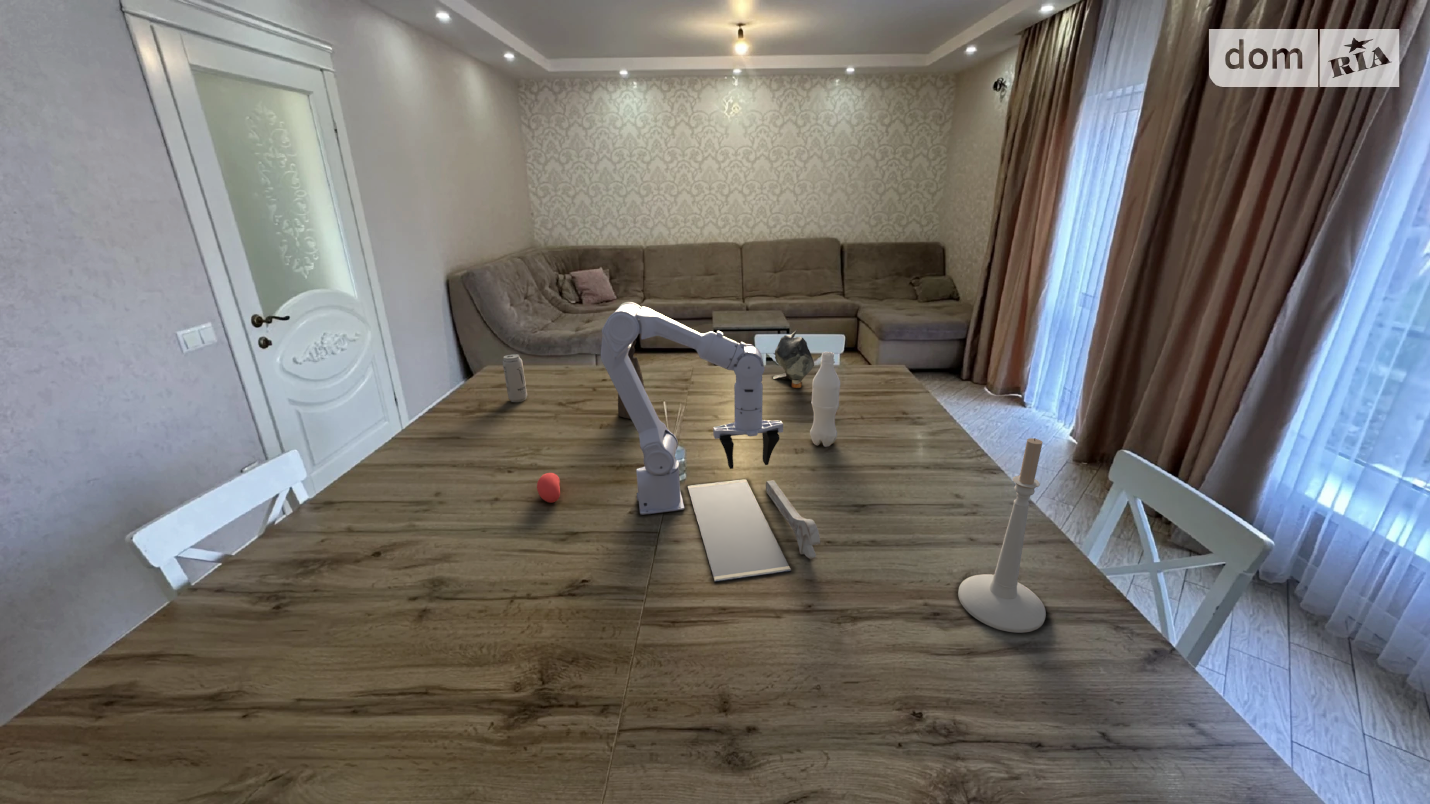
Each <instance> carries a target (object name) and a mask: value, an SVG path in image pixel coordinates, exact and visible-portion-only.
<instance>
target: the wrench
mask: <svg viewBox="0 0 1430 804" xmlns="http://www.w3.org/2000/svg"><path fill="white" fill-rule="evenodd" d="M765 492H766V494H767V495H768V496H769V498H770V499H771V500H772V502H773V503H774V505H775V506H776V507H777V509H778V511H779V512H780V514H781V515H782V516H783V518H784V519H785V521H786V522H787V524H788V525H789V526H790V528H791V530H792V531H793V534H794V536H795V539H796V542H797V545H798V550H799V554H800V555H805V557H807V558H808V559H810V560H814V559H816V557H817V554H816V551H815V548H814V546H817V545H821V536H820V531H819V529H818V526H817V524H816V523H815V520H813V518H805V517H803V516H801V515H800V513H799V512H798V511H797V510H796V507H794V506H793V504H792V503H791V501H790V500H789V498H788V497H787V496H786V495H785V493H784V491H782V489H781V488H780V486H779V485H778V484H777V482H776V481H775V480H774V479H773V480H766V481H765Z"/></svg>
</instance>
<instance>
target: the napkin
mask: <svg viewBox="0 0 1430 804" xmlns="http://www.w3.org/2000/svg"><path fill="white" fill-rule="evenodd" d="M687 490H688V495H689V497H690V500H691V504H692V507H693V510H694V514H695V518H696V521H697V525H698V528H699V533H700V536H701V538H702V543H703V545H704V549H705V552H706V553H705V554H706V556H707V560H708V562H709V566H710V570H711V573H712V578H713V581H714V583H717V582H726V581H732V580H739V579H747V578H753V577H762V576H769V575H774V574H781V573H789V572H792V568H791V567H790V566H789V563H788V562H787V558H786V557H785V555H784V552H783V551H782V549H781V547H780V545H779V543H778V540H777V539H776V537H775V535H774V533H773V530H772V528H771V527H770V525H769V522H768V520H767V518H766V517H765V515H764V512H763V511H762V508H761V507H760V505H759V503H758V501H757V498H756V496H755V495H754V493H753V491H752V489H751V486H750V485H749V482H748V481H747V478H745V479H735V480H727V481H717V482H709V483H700V484H699V483H698V484H691V485H687Z"/></svg>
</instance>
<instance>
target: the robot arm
mask: <svg viewBox="0 0 1430 804" xmlns="http://www.w3.org/2000/svg"><path fill="white" fill-rule="evenodd" d="M639 334H640V335H641V337H640V339H641V340H646V339H649V338H654V337H661V338H663V339H666V340H668V341H669V340H670V341H672V342H675V343H676V344H680V345H683V346H685V347H688V348H690V349H694V350H695V351H696V353H697V355H698V357H699V358H700V359H701V360H704V361H706V362H709V363H711V364H713V365H714V366H715V365H716V366H718V367H720V368H723V369H725V370H727V371H733V372H734V375H735V382H734V387H733V388H734V389H733V393H734V396H733V397H734V399H733V401H734V403H733V405H734V406H733V407H734V422H730V423H726V424H722V425H718V426H713V427H712V435H713V438H714V439H715V440H718V439H719V441H720V443H721V446H722V448H723V450H724V453H725V456H726V461H727V466H728V468H729V469H730V470H733V469H734V445H735V443H734V442H733V437H734V436H735V437H736V436H744V435H746V436H747V437H757V436H758V435H759V434H762V462H763V464H764V465H765V466H768V465H769V464H770V459H771V456H772V454H773V451H774V449H775V447H776V446H777V444H778V443H779V441H780V435H779V434H780V433H784V423H783V422H782V420H765V419H764V420H763V403H764V402H763V398H764V397H763V396H764V395H763V394H764V393H763V392H764V391H763V390H764V386H763V383H762V382H763V375H764V372H765V366H764V360H763V355H762V353H761V351H760V349H758V347H756V346H754V344H751V343H745V342H743V341H740V343H739V342H738V341H736V340H733V339H731V338H728V337H727V336H724V332H722V331H720V330H716V332H714V331H708V332H705V333H701V332H699V331H697V330H695V329H692V328H691V327H688V326H686V325H685V324H683V323H680V322H679V321H677V320H674V319H672V318H670V317H668V316H665V315H664V314H663V313H660V312H658V311H655V310H654V309H652V308H650V307H647V306H640V305H639V304H638V303H636V302H633V301H626V302H623V303H621V304H620V305H618V307H617V308H616V309H615V310H614V312H613V313H611V314H610V315H609V316H608V318H606V321H605V323H604V325H603V326H602V329H601V335H602V337H601V346H600V347H601V348H600V349H601V350H600V360H601V362H602V364H603V367H604V368H605V370H606V372H607V374H608V376H609V378H610V380H611V382H612V383H613V386H614V388H615V391H616V392H617V395H618V394H619V396H620V398H621V400H622V402H623V404H624V406H625V408H626V410H627V412H628V414H629V416H630V418H631V419H630V420H631V421H632V424H633V425H634V427H635V430H636V431H637V433H638V438H639V447H640V449H641V452H642V455H643V465H644V466H641V467H638V468H635V472H636V484H637V485H636V487H637V492H636V501H637V502H638V507H639V514H640V515H651V514H661V513H668V512H669V513H670V512H677V511H683V510H685V504H684V500H683V496H682V492H681V483H680V481H681V480H680V463H679V460H678V459H677V458H676V452H677V450H678V447H679V441H678V439H677V436H676V435H675V434H674V433H673V432H672V431H670V430H669V428H668V427H667V425H666V423H665V422H663V421H661V419H660V418H659V416H658V414H657V411H656V410H655V407H654V406H653V403H652V402H651V399H650V397H649V396H648V393H647V391H646V388H645V389H644V387H645V386H644V387H643V385H642V383H641V381H640V379H639V377H638V375H637V373H636V371H635V369H634V367H633V364H632V362H631V360H630V358H629V356H628V352H629V350H630V348H631V345H632V343H633V344H634V340H637V338H638V336H639Z"/></svg>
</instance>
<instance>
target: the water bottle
mask: <svg viewBox="0 0 1430 804" xmlns="http://www.w3.org/2000/svg"><path fill="white" fill-rule="evenodd" d="M834 357H835V353H834V352H833V351H823V352H821V359H820V362H819V363H820V367H819V368H818V371H817V372H816V374H815V375H814V377H813V378H812V383H811V386H812V388H811V389H812V391H811V392H812V393H811V402H810V403H811V407H812V410H813V422H812V426H811V429H809V435H810V439H811V441H812V443H813V444H814V445H815V446H819V445H820V444H821V443H822V445H823V447H825V448H829V447H830V446H831V445H833V444H834V443H835V442H836V440H837V438H838V431H837V426H836V413H837V411H838V409H839V408H840V391H841V390H840V389H841V380H840V378H839V375H838V374H837V373H838V372H837V370H836V369H835V363H836V361H835V358H834Z"/></svg>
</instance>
